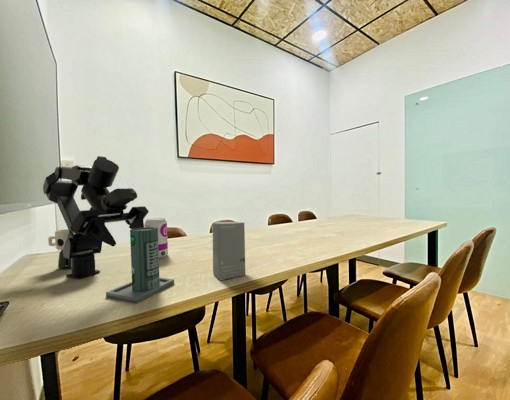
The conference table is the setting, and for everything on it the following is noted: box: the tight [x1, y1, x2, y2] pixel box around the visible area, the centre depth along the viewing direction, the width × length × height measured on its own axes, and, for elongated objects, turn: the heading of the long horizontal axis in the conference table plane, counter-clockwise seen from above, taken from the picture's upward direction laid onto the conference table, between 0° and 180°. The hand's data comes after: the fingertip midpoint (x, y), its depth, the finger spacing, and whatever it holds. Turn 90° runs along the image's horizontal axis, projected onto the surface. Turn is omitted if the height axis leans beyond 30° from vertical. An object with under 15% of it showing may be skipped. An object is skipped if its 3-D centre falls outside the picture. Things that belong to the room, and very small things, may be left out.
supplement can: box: [144, 217, 169, 259], centre depth 92 cm, size 8×8×15 cm
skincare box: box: [211, 221, 246, 281], centre depth 69 cm, size 8×7×16 cm
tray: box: [105, 276, 175, 304], centre depth 59 cm, size 10×12×1 cm
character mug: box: [48, 228, 71, 269], centre depth 81 cm, size 11×7×13 cm, turn 116°
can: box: [129, 227, 160, 292], centre depth 59 cm, size 6×6×15 cm
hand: (131, 241), depth 61 cm, fingers open, 9 cm apart
